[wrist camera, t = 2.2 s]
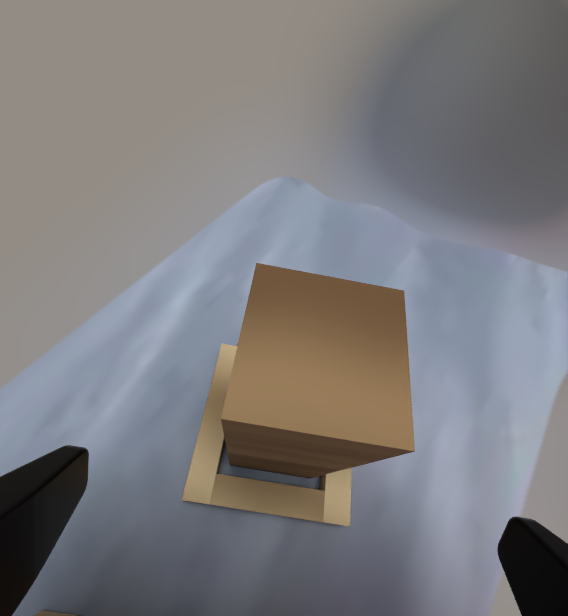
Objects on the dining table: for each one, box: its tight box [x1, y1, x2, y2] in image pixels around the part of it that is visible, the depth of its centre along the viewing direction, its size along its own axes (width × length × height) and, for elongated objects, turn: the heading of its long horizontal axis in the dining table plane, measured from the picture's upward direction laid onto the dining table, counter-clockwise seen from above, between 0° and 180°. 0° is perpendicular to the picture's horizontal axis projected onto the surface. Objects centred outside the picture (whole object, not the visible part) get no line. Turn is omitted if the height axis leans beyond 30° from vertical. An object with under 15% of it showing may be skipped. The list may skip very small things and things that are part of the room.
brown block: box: [221, 263, 415, 478], centre depth 12 cm, size 4×4×11 cm
